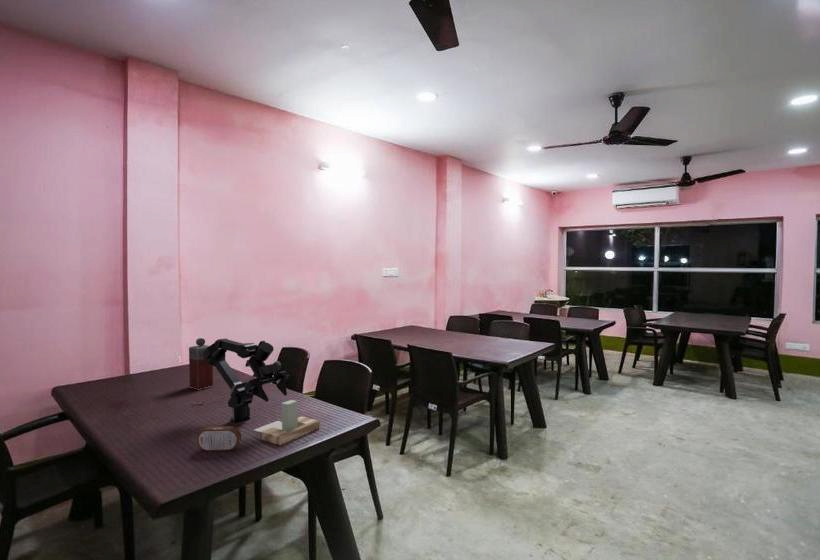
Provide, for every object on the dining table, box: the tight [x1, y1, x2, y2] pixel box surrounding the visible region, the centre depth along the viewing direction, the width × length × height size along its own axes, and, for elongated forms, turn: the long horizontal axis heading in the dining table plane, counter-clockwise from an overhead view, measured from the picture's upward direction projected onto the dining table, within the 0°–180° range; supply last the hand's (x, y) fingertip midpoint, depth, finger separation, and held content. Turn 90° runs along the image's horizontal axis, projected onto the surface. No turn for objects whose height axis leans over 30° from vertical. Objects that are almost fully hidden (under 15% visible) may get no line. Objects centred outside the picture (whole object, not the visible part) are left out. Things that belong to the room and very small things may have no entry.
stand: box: [261, 416, 321, 446], centre depth 164 cm, size 10×20×3 cm, turn 147°
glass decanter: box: [188, 337, 214, 389], centre depth 234 cm, size 9×11×28 cm
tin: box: [196, 425, 242, 452], centre depth 150 cm, size 15×3×8 cm, turn 92°
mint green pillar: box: [281, 399, 299, 432], centre depth 164 cm, size 7×8×12 cm
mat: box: [253, 420, 282, 434], centre depth 170 cm, size 10×12×1 cm
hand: (277, 398), depth 168 cm, fingers open, 9 cm apart
